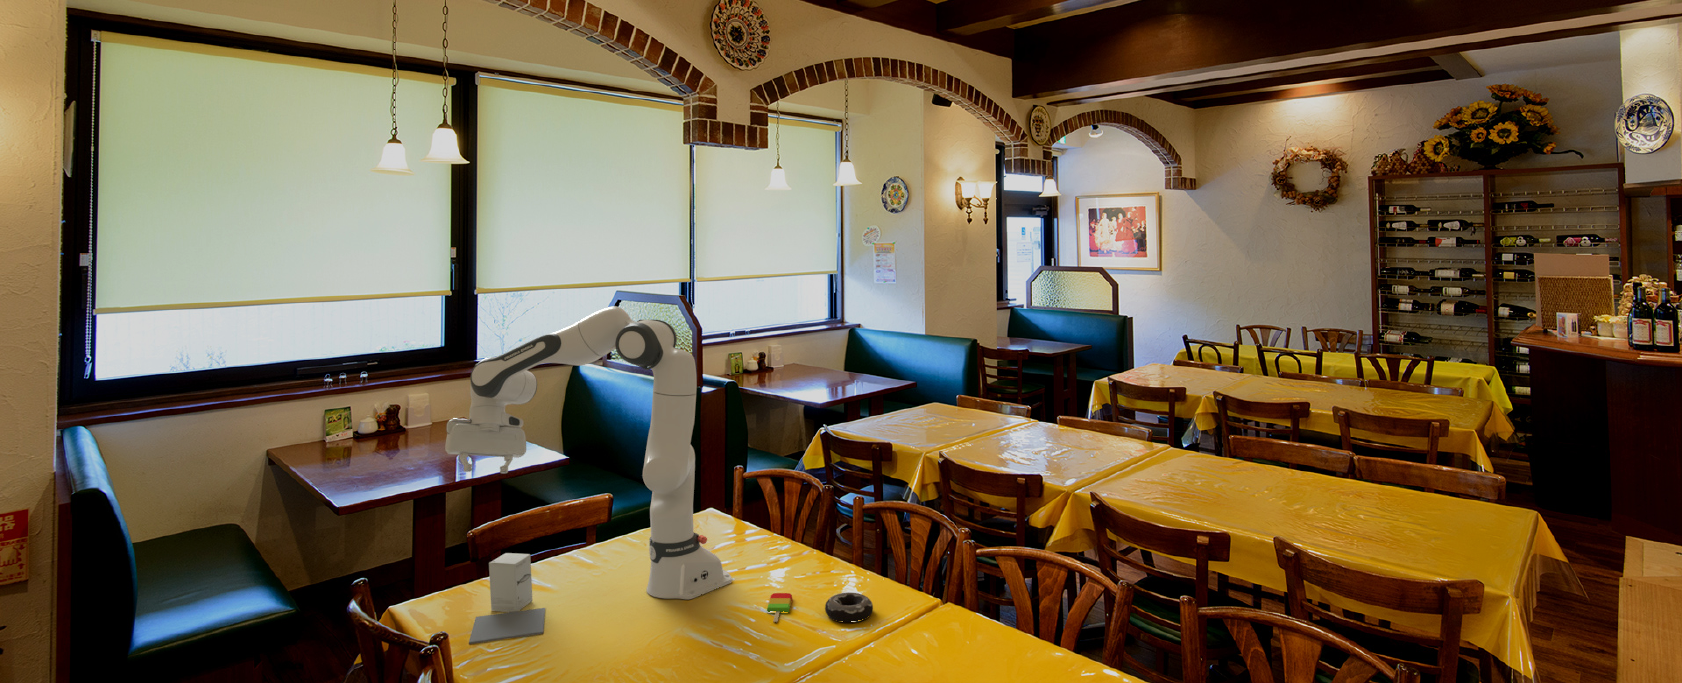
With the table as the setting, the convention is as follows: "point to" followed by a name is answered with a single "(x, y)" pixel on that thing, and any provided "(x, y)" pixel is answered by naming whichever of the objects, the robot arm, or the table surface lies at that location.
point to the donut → (848, 607)
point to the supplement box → (510, 582)
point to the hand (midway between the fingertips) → (486, 472)
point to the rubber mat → (507, 625)
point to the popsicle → (779, 603)
